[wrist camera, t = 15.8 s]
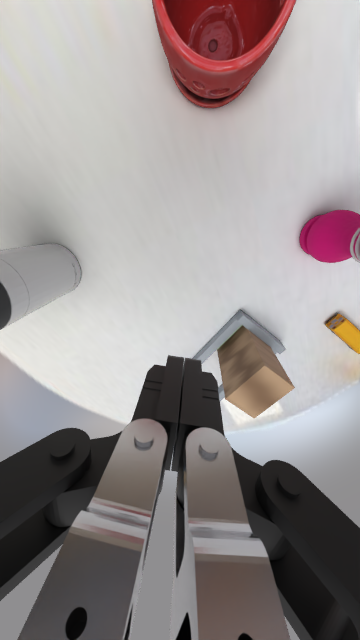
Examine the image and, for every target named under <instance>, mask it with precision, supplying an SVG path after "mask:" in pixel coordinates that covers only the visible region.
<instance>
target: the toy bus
mask: <svg viewBox="0 0 360 640" xmlns="http://www.w3.org/2000/svg"><path fill="white" fill-rule="evenodd" d="M325 325H326V326H327V327H328V328H329V329H330V330H331V331H332V332H333V333H334V334H336V335H337V336H338V337H339V338H340V339H341V340H343V341H344V342H345V343H346V344H347V345H348V346H349V347H350V348H351V349H352V350H354V351H355V352H356V353H358V354H360V331H359V330H358V329H357V328H356V327H355V326H354V325H353V324H352V323H351V322H350V321H349V320H347V319H346V318H345V317H343V316H342V315H340V314H337V315H336V316H335V317H333V318H332V319H331V320H330V321H328V322H327V323H326V324H325Z"/></svg>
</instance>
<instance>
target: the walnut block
mask: <svg viewBox="0 0 360 640" xmlns="http://www.w3.org/2000/svg"><path fill="white" fill-rule="evenodd" d="M217 351H218V357H219V363H220V369H221V376H222V382H223V388H224V394H225V399H226V400H228V401H229V402H230V403H232V404H233V405H235V406H236V407H238V408H239V409H241V410H242V411H244V412H245V413H247V414H248V415H250V416H251V417H253V418H255V417H257V416H258V415H259V414H261V413H262V412H263V411H265V410H266V409H267V408H269V407H270V406H271V405H273V404H274V403H275V402H277V401H278V400H279V399H281V398H282V397H283V396H285V395H286V394H287V393H289V392H290V391H291V390H293V389H294V388H295V387H294V386H293V384H292V382H291V381H290V379H289V377H288V376H287V374H286V372H285V371H284V369H283V367H282V366H281V364H280V362H279V361H278V359H277V357H276V355H275V354H274V352H273V350H272V349H271V347H270V346H268V345H267V344H266V343H265V342H263V341H262V340H261V339H259V338H258V337H257V336H256V335H254V334H253V333H252V332H250V331H249V330H248V329H247V328H245V327H244V326H243V325H242V326H241V327H240V328H239V329H238V330H237V331H236V332H235V333H234V334H233V335H232V336H231V337H230V338H229V339H228V340H227V341H226V342H225V343H224V344H223V345H222V346H221V347H220V348H219V349H218V350H217Z"/></svg>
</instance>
